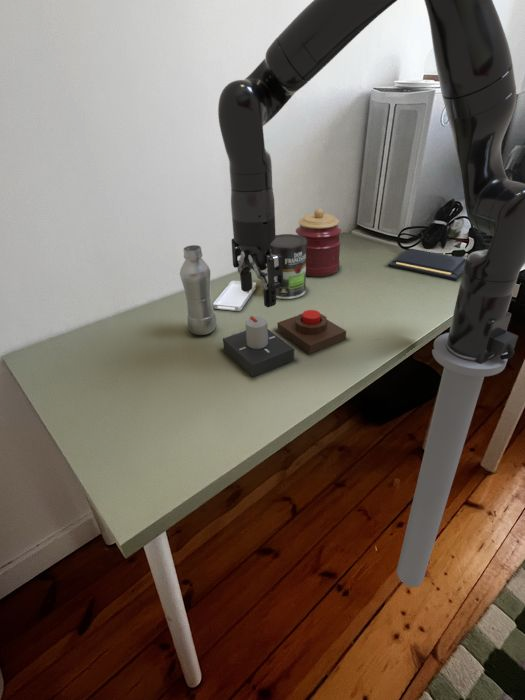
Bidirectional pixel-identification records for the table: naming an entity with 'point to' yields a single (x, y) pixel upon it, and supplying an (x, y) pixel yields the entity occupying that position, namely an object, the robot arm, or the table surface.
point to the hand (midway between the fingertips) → (258, 297)
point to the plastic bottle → (197, 291)
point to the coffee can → (291, 264)
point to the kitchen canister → (320, 243)
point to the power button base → (311, 333)
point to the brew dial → (257, 332)
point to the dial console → (258, 353)
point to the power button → (311, 317)
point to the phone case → (233, 297)
